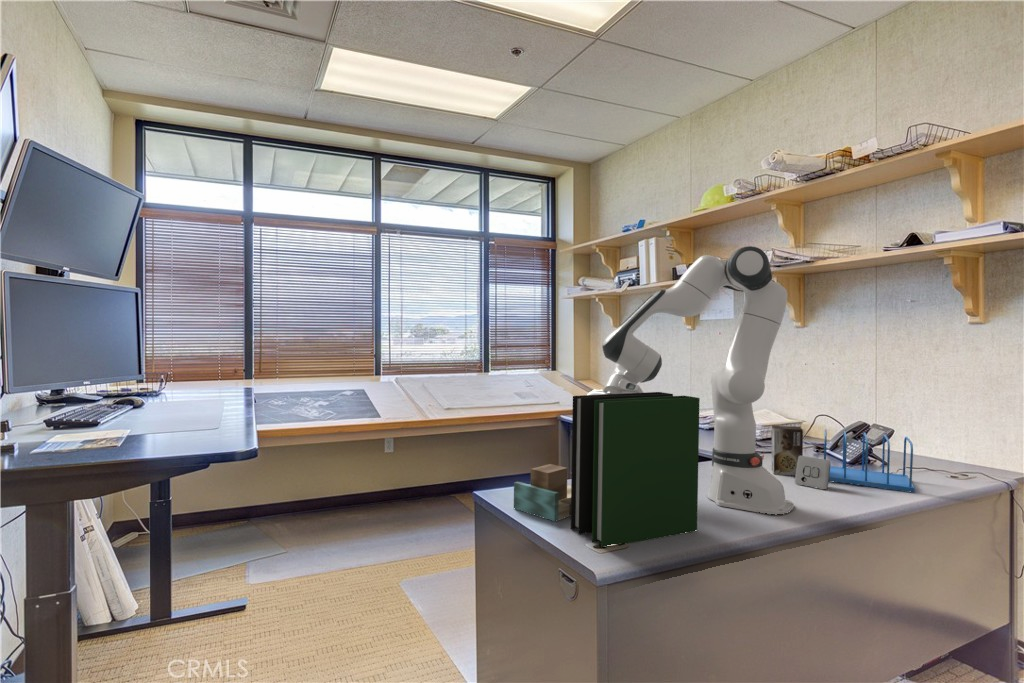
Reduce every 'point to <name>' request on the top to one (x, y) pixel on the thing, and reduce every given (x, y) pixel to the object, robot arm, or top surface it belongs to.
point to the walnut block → (550, 479)
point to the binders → (634, 466)
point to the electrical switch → (812, 472)
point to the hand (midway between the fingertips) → (601, 427)
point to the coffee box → (786, 449)
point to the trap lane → (541, 501)
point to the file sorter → (872, 477)
